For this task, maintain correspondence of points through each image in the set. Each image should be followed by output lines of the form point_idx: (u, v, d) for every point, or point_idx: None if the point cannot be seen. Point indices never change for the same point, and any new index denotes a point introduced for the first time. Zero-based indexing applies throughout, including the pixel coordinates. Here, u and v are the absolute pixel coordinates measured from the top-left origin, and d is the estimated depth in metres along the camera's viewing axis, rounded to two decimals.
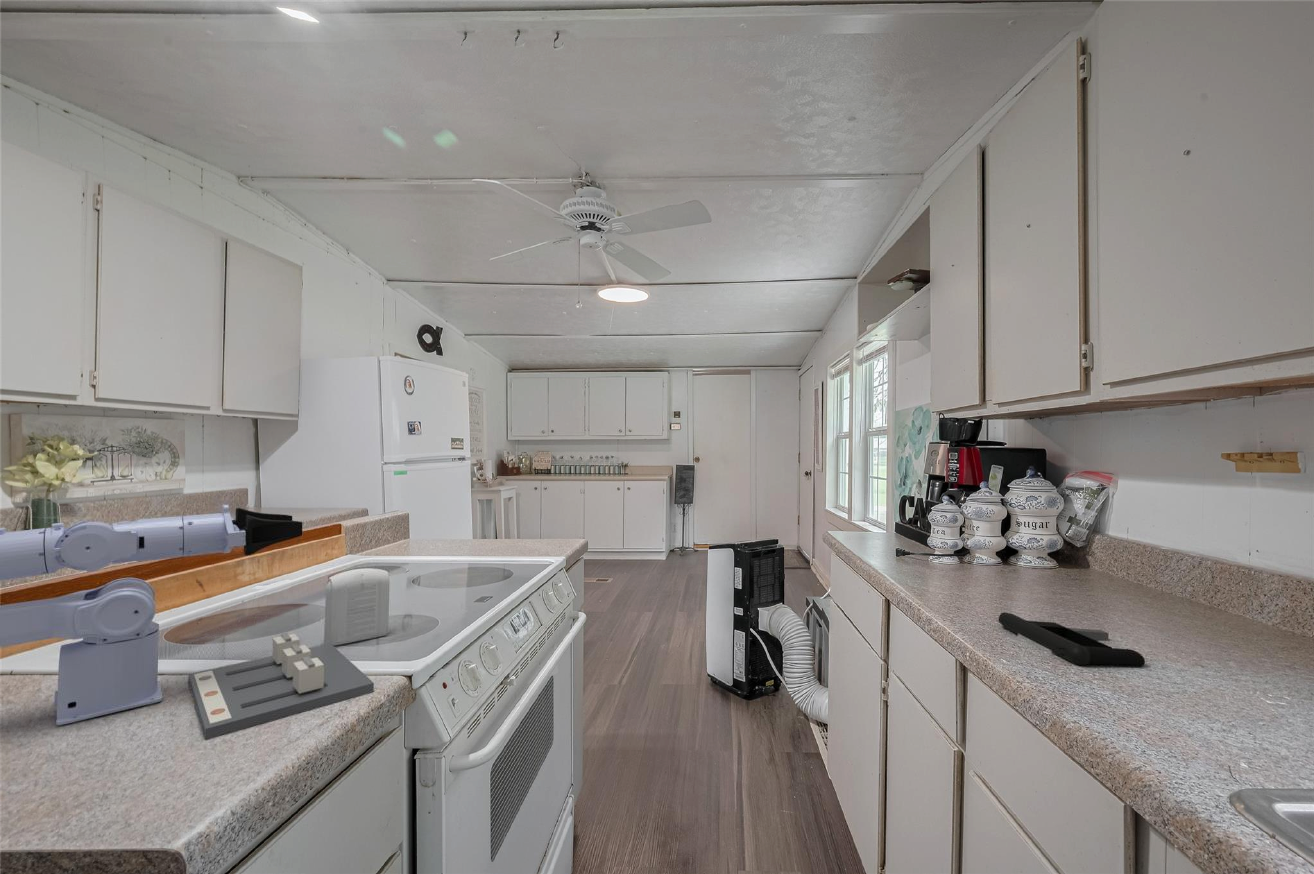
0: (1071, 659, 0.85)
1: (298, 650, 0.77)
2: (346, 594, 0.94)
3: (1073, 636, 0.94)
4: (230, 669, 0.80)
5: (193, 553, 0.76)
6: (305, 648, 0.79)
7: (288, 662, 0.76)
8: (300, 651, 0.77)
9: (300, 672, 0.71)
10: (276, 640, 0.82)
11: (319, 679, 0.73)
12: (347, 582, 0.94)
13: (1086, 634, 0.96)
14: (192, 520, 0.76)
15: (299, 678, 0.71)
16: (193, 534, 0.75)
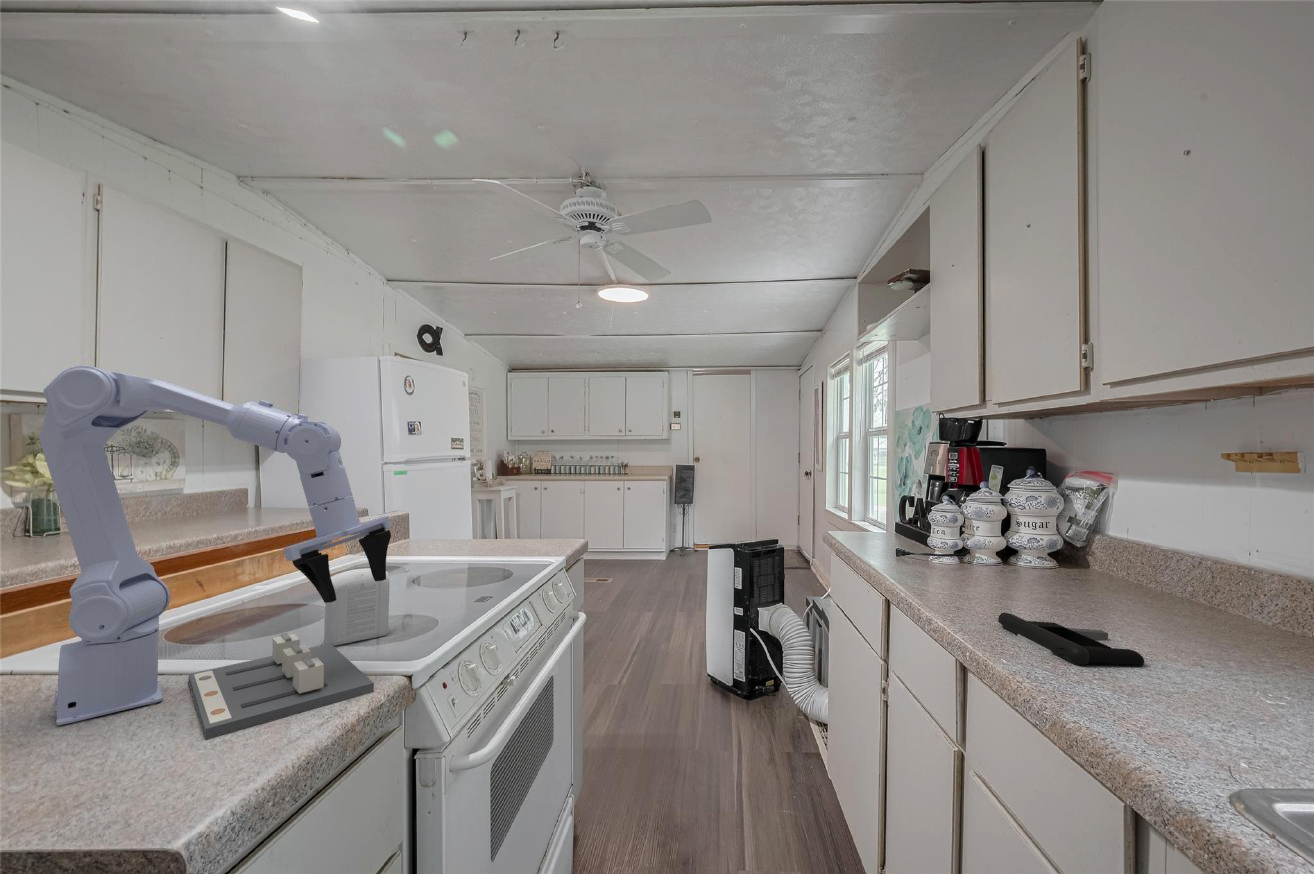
0: (1070, 659, 0.85)
1: (298, 650, 0.77)
2: (346, 594, 0.94)
3: (1072, 636, 0.94)
4: (230, 669, 0.80)
5: None
6: (305, 648, 0.79)
7: (288, 662, 0.76)
8: (300, 651, 0.77)
9: (300, 672, 0.71)
10: (276, 640, 0.82)
11: (319, 679, 0.73)
12: (347, 582, 0.94)
13: (1086, 634, 0.96)
14: (330, 509, 0.77)
15: (299, 678, 0.71)
16: (315, 513, 0.77)
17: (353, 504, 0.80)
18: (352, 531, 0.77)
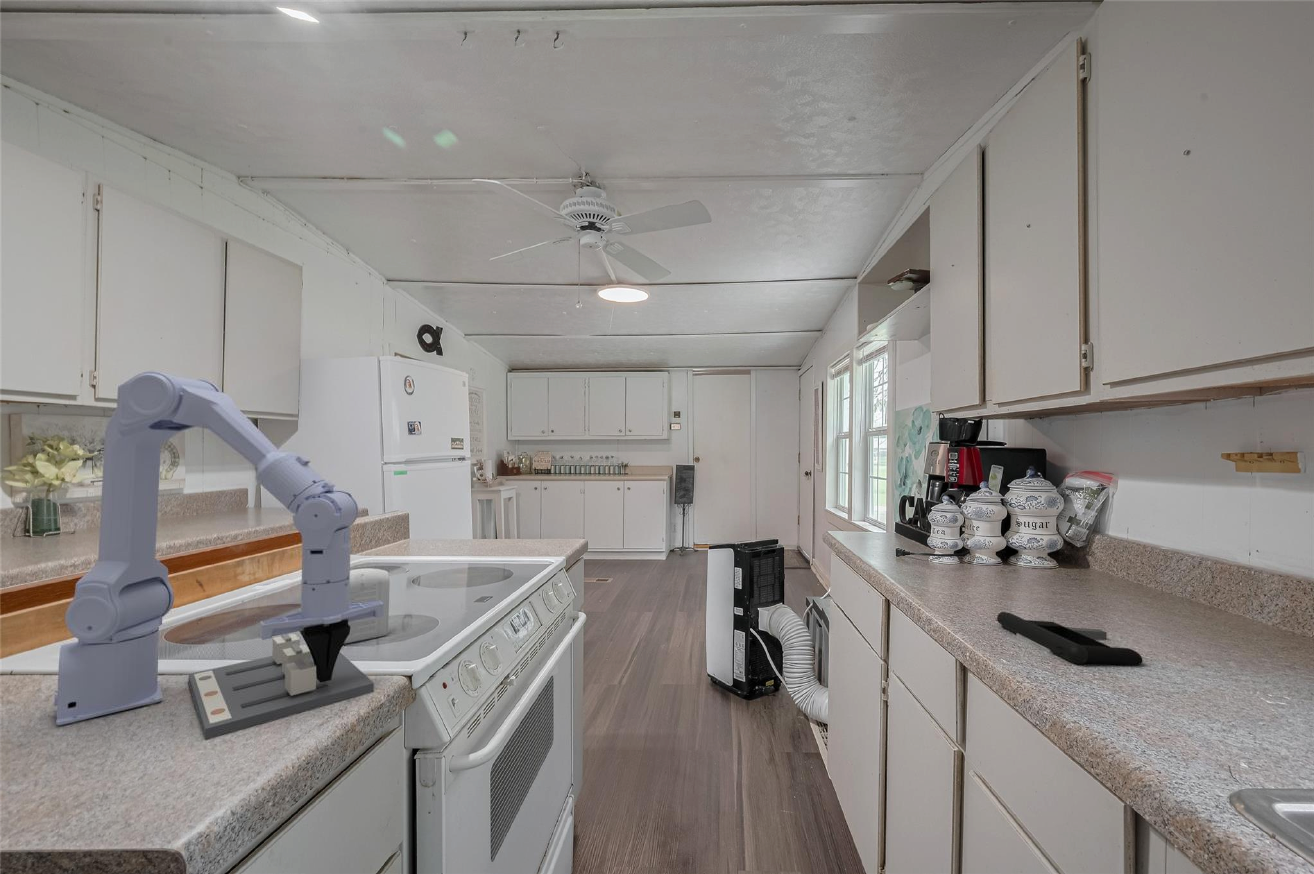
0: (1069, 658, 0.85)
1: (298, 650, 0.77)
2: None
3: (1071, 635, 0.94)
4: (230, 669, 0.80)
5: None
6: (305, 648, 0.79)
7: (288, 662, 0.76)
8: (300, 651, 0.77)
9: (292, 674, 0.70)
10: (276, 640, 0.82)
11: (311, 681, 0.72)
12: None
13: (1084, 633, 0.96)
14: (317, 591, 0.72)
15: (291, 680, 0.70)
16: (303, 591, 0.73)
17: (345, 588, 0.75)
18: (330, 621, 0.72)
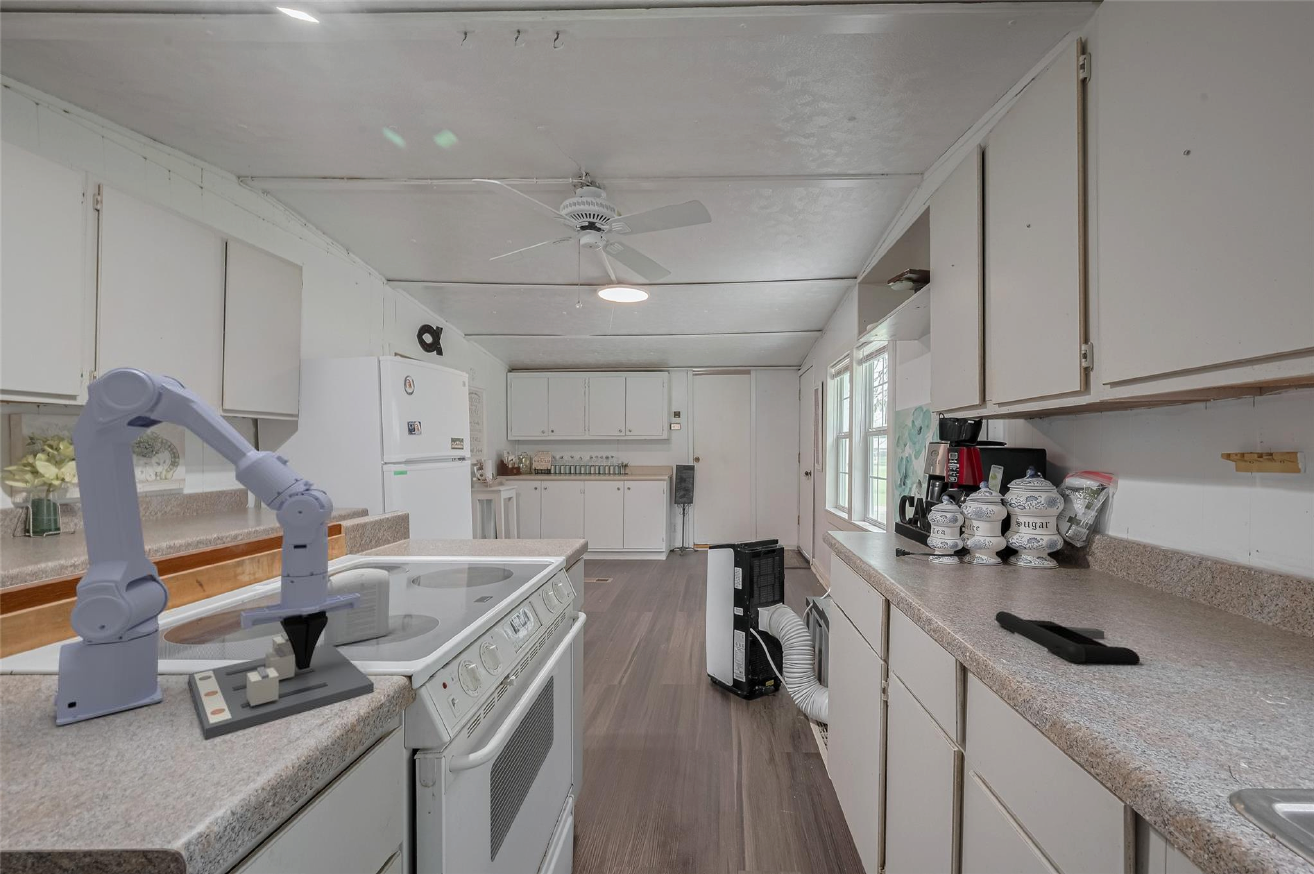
0: (1067, 657, 0.86)
1: (281, 654, 0.76)
2: (346, 594, 0.94)
3: (1069, 635, 0.94)
4: (230, 669, 0.80)
5: None
6: (289, 651, 0.78)
7: (271, 666, 0.75)
8: (283, 655, 0.76)
9: (252, 683, 0.68)
10: (276, 640, 0.82)
11: (273, 691, 0.69)
12: (347, 582, 0.94)
13: (1082, 633, 0.97)
14: (296, 584, 0.76)
15: (251, 690, 0.68)
16: (282, 583, 0.77)
17: (323, 581, 0.79)
18: (308, 612, 0.76)
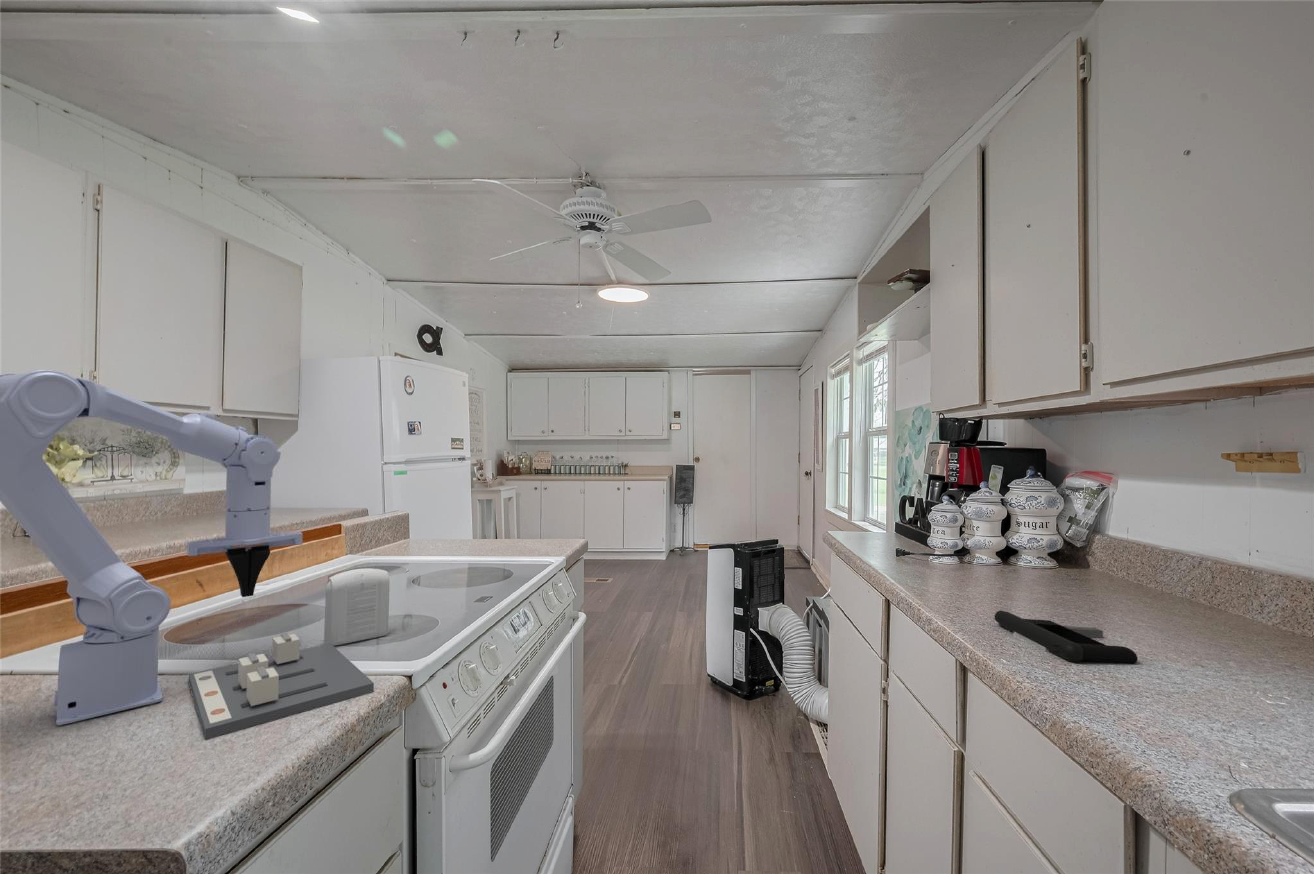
0: (1065, 656, 0.86)
1: (254, 659, 0.74)
2: (346, 594, 0.94)
3: (1067, 634, 0.95)
4: (230, 669, 0.80)
5: None
6: (263, 657, 0.75)
7: (243, 672, 0.72)
8: (256, 661, 0.73)
9: (252, 683, 0.68)
10: (276, 640, 0.82)
11: (273, 691, 0.69)
12: (347, 582, 0.94)
13: (1081, 632, 0.97)
14: (238, 517, 0.84)
15: (251, 690, 0.68)
16: (226, 517, 0.84)
17: (264, 517, 0.86)
18: (249, 543, 0.84)
